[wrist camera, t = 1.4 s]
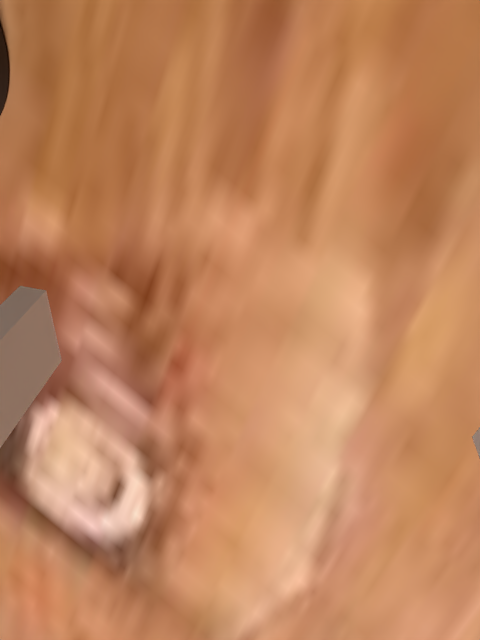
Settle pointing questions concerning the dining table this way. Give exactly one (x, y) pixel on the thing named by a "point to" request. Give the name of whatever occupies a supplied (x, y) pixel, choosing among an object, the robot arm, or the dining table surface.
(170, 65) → the dining table surface
